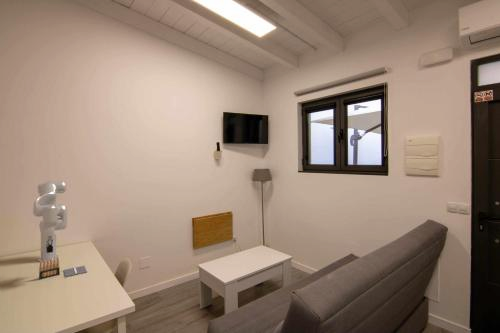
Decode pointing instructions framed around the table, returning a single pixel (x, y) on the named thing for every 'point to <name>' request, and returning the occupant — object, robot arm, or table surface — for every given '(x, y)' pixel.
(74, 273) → the mat
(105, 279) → the table surface
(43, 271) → the ammunition clip
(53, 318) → the table surface
